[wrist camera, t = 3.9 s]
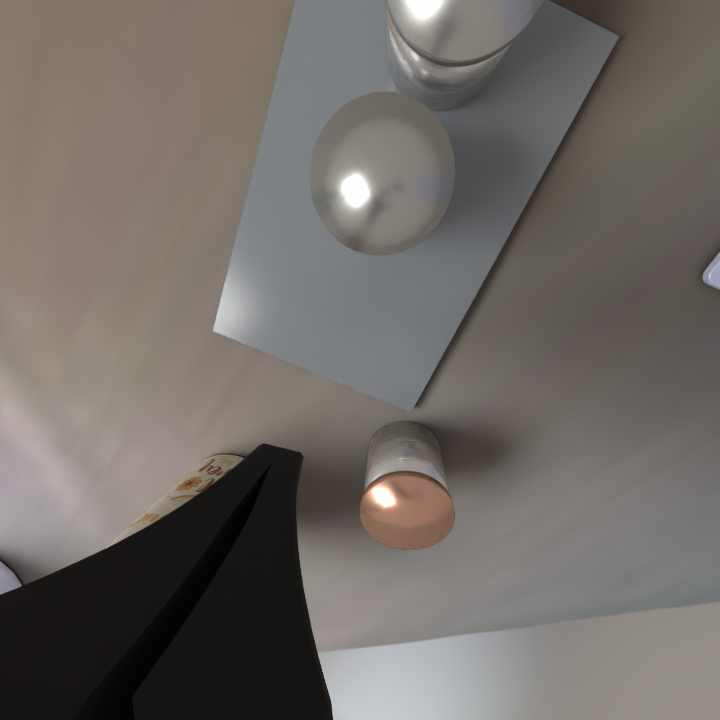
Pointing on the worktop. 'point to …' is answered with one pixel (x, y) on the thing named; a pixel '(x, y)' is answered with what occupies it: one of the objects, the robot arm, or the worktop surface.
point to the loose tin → (406, 488)
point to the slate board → (441, 247)
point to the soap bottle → (7, 579)
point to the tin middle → (382, 173)
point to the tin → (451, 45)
